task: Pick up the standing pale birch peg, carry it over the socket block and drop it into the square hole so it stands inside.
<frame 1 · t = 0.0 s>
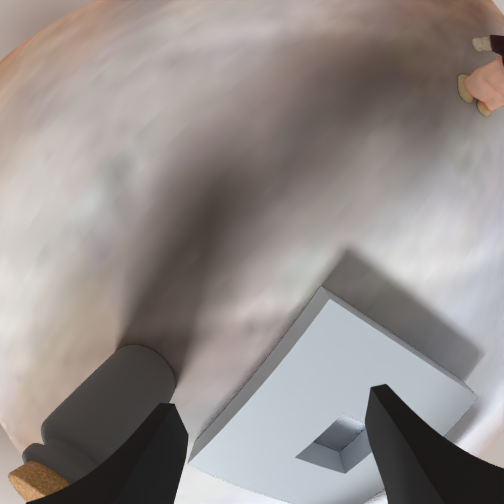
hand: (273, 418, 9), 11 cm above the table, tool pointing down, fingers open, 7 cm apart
socket block: (337, 424, 21), on the table
bottle: (143, 373, 21), on the table
grandmother figurine: (470, 93, 16), on the table
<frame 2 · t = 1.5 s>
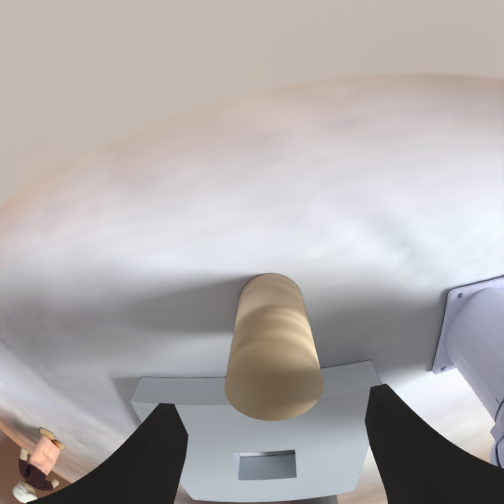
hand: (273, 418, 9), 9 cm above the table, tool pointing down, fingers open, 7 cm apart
socket block: (264, 442, 23), on the table
peg: (271, 302, 18), on the table
bottle: (314, 496, 27), on the table
grandmother figurine: (55, 440, 27), on the table
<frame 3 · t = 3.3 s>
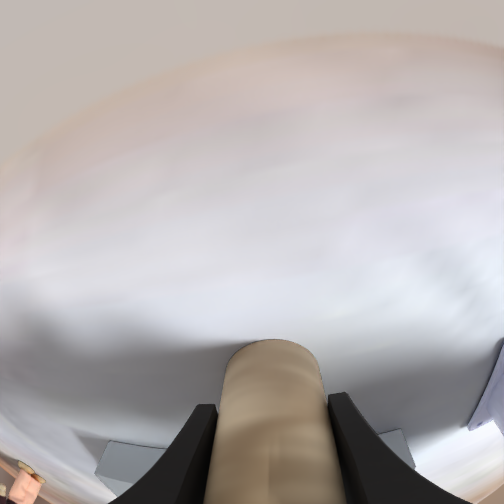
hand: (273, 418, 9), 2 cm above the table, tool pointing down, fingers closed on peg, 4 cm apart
peg: (272, 376, 12), on the table, touching gripper
grandmother figurine: (35, 473, 20), on the table
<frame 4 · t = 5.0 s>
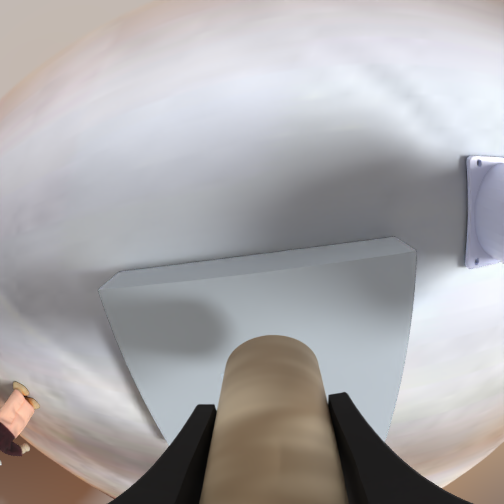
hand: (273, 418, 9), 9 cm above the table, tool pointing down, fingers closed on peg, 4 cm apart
socket block: (270, 371, 20), on the table
peg: (272, 373, 12), point 7 cm above the table, touching gripper
grandmother figurine: (30, 397, 24), on the table
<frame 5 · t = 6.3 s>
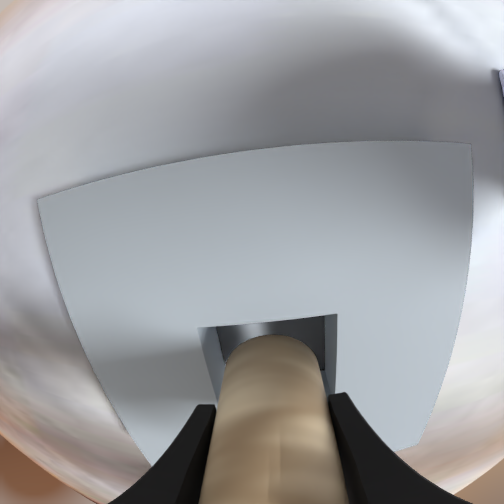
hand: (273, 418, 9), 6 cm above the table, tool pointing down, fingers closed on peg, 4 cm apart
socket block: (271, 337, 15), on the table
peg: (272, 373, 12), point 3 cm above the table, touching gripper
when the fingers open (4 cm above the table, at t = 7.1 s): peg drops 1 cm, resting in socket block.
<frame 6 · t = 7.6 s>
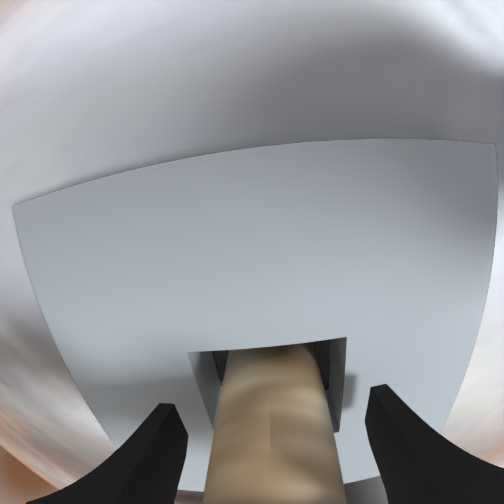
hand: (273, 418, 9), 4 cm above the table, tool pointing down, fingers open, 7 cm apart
socket block: (271, 356, 13), on the table
peg: (271, 353, 13), resting in socket block
bottle: (347, 483, 18), on the table
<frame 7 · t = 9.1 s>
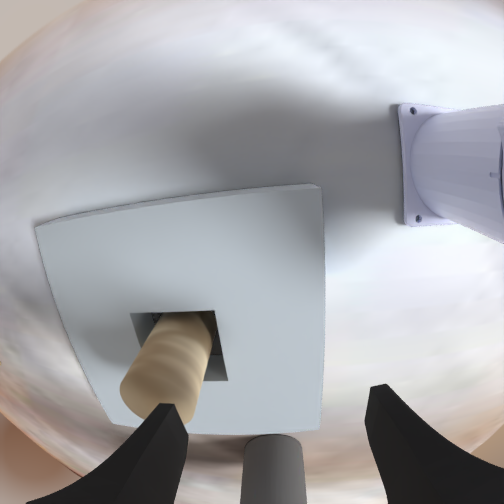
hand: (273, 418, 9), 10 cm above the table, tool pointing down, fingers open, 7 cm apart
socket block: (189, 325, 20), on the table
peg: (189, 323, 20), resting in socket block
bottle: (273, 447, 25), on the table
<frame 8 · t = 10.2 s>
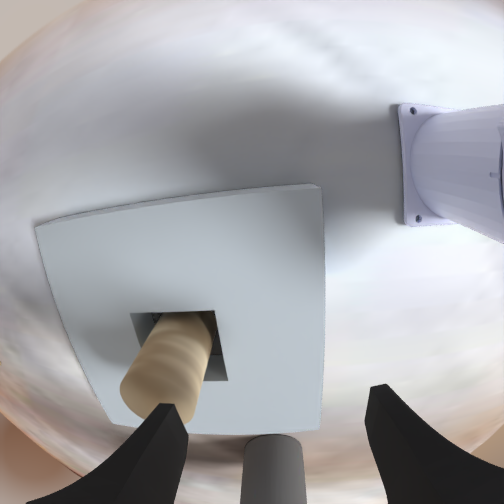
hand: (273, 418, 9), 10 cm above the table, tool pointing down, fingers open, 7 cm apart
socket block: (189, 325, 20), on the table
peg: (189, 323, 20), resting in socket block
bottle: (273, 447, 25), on the table
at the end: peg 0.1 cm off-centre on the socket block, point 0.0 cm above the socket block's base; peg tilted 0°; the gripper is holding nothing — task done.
